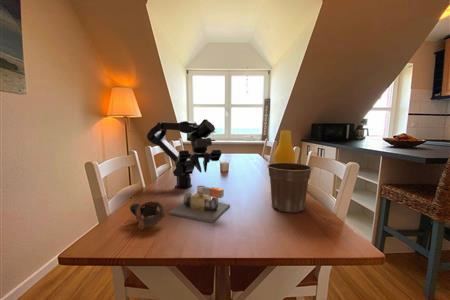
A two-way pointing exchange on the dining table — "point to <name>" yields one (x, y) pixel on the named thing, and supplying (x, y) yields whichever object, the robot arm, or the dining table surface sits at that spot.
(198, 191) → the valve lever
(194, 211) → the rubber mat
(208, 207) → the valve body
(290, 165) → the plant pot
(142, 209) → the pottery mug
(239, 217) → the dining table surface
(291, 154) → the yellow bottle
